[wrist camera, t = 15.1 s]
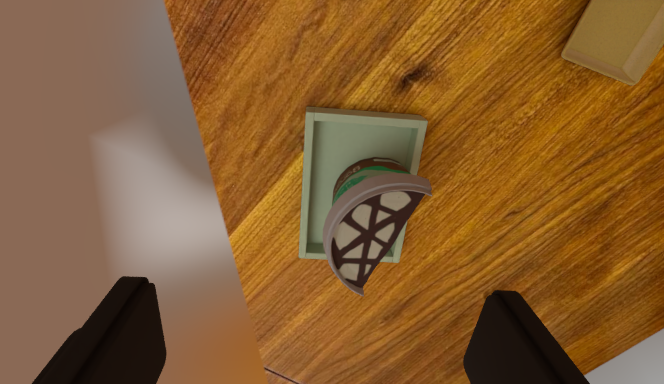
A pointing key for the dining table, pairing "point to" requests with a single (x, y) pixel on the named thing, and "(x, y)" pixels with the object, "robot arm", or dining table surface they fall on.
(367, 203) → the food container
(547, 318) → the dining table surface
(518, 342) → the robot arm
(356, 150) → the tray
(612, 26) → the saucer
